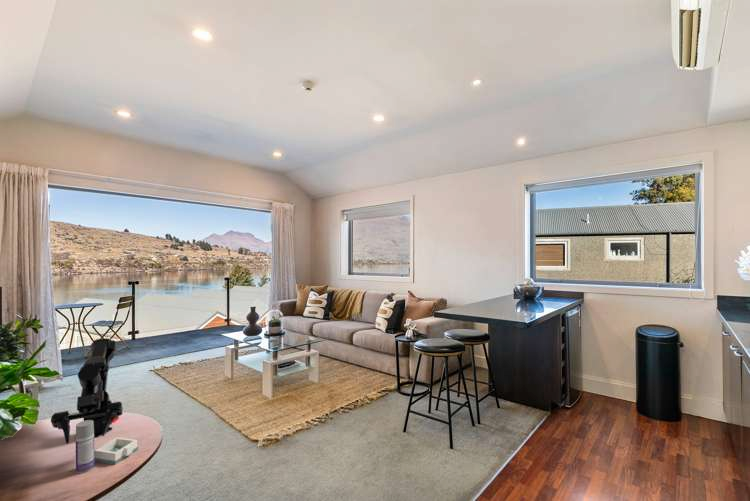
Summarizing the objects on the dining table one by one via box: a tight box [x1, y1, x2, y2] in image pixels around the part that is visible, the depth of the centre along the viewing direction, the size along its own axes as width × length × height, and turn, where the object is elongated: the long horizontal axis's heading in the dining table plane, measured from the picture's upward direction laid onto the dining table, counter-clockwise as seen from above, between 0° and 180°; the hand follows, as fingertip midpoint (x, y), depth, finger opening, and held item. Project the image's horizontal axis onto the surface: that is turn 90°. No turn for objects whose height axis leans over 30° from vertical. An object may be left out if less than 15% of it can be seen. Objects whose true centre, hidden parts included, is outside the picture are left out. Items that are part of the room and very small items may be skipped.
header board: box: [94, 437, 139, 465], centre depth 124 cm, size 10×9×4 cm
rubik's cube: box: [111, 416, 120, 425], centre depth 149 cm, size 5×5×5 cm
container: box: [75, 420, 95, 474], centre depth 117 cm, size 5×5×15 cm
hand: (85, 439), depth 117 cm, fingers open, 9 cm apart
